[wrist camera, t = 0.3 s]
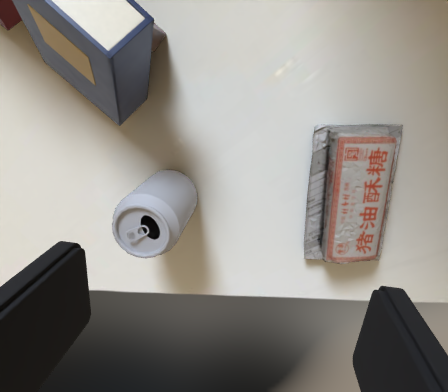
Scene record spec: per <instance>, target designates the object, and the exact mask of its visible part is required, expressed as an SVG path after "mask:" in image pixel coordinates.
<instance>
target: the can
mask: <svg viewBox="0 0 448 392" xmlns="http://www.w3.org/2000/svg"><path fill="white" fill-rule="evenodd" d="M197 197H198V195H197V191H196V188H195V186H194V184H193V183H192V181H191V180H190V179H189V178H188V177H187V176H185V175H184V174H182V173H180V172H178V171H175V170H162V171H158V172H157V173H155V174H153V175H152V176H151V177H149V178H148V179H147V180H146V181H145V182H143V183H142V184H141V185H140V186H138V187H137V188H136V189H135V190H134V191H132V192H131V193H130V194H129V195H127V196H126V197H125V198H124V199H122V200H121V202H120V203H119V204H118V205H117V207H116V208H115V211H114V215H113V223H112V230H113V235H114V237H115V240H116V242H117V243H118V244H119V245H120V247H121V248H122V249H124V250H125V251H126V252H127V253H129V254H131V255H133V256H136V257H141V258H151V257H155V256H157V255H161V254H163V253H165V252H167V251H169V250H170V249H171V248H172V247H173V246H174V245H175V244H176V242H177V240H178V239H179V237H180V235H181V233H182V231H183V230H184V228H185V226H186V224H187V222H188V221H189V219H190V217H191V215H192V213H193V212H194V210H195V207H196V205H197Z"/></svg>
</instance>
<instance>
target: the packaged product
mask: <svg viewBox="0 0 448 392" xmlns="http://www.w3.org/2000/svg"><path fill="white" fill-rule="evenodd" d="M402 127H403V125H378V124H368V125H347V126H344V125H317V126H315V129H314V134H313V154H312V161H311V168H310V176H309V185H308V194H307V207H306V221H305V235H304V259H323V260H324V261H325V262H333V263H339V264H344V263H349V262H357V261H370V260H378V261H379V257H380V252H381V249H382V242H383V234H384V229H385V224H386V219H387V214H388V208H389V202H390V197H391V184H392V183H393V179H394V173H395V168H396V160H397V156H398V150H399V145H400V139H401V134H402Z"/></svg>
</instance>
